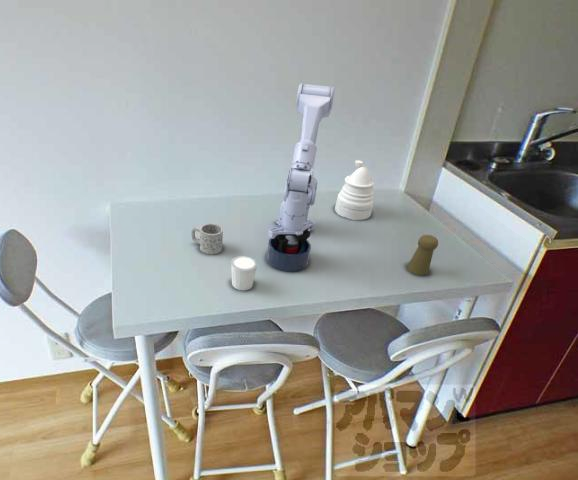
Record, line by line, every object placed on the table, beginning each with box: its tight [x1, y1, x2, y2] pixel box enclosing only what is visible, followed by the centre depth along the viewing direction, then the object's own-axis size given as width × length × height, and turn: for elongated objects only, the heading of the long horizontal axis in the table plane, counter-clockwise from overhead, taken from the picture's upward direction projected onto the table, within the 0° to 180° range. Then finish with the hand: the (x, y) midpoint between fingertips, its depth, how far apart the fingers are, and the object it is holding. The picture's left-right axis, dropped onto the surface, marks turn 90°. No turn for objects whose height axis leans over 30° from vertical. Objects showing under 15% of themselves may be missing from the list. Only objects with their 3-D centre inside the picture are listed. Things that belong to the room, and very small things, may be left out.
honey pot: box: [334, 159, 375, 221], centre depth 147 cm, size 13×13×18 cm
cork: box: [406, 234, 439, 277], centre depth 121 cm, size 6×6×11 cm
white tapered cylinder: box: [230, 255, 258, 291], centre depth 112 cm, size 7×7×7 cm
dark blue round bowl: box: [266, 234, 312, 273], centre depth 123 cm, size 12×12×6 cm
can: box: [285, 236, 299, 255], centre depth 122 cm, size 5×5×6 cm
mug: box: [191, 223, 224, 255], centre depth 126 cm, size 10×7×7 cm, turn 65°
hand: (288, 253), depth 123 cm, fingers closed on can, 5 cm apart
